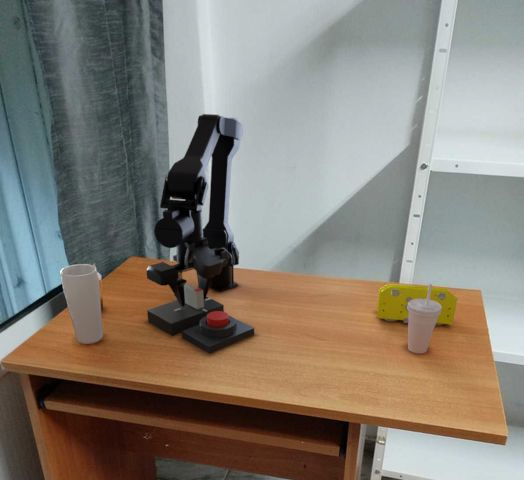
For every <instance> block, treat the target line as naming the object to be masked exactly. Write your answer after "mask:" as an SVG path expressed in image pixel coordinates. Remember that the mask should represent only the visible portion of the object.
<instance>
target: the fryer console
mask: <svg viewBox="0 0 524 480" xmlns="http://www.w3.org/2000/svg"><path fill="white" fill-rule="evenodd" d="M224 310H225V309H224V304H223V303H221V302H218V301H216V300H215V299H213V298H211V297H208V296H206V299H204V307H203V308H200V309H196V308H194V307H192V306H190V305H188V304H186V303H185V306H184V307H182V306H181V305H180V304H179V302H178V300H177V299H176V300H173V301H170V302H167V303H164V304H162V305H158V306H155V307H153V308H152V307H151V308H149V309H147V310H146V312H147V323H148V324H150V325H151V326H153V327H155V328H157V329H159V330H161V331H162V332H164V333H166V334H167V335H169V336H171V337H175V336H177V335H180V334H182V331H183V330H186V329H189V328H191V327H194V326H197V325H199V324H200V320H201V319H202V318H203V317H206V316H207V315H208V314H209V313H210V312H214V311H223V312H225V311H224Z"/></svg>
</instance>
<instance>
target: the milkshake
mask: <svg viewBox="0 0 524 480" xmlns="http://www.w3.org/2000/svg"><path fill="white" fill-rule="evenodd" d="M93 266H95V267H96V263H93ZM97 274H98V279H99V286H100V301H101V313H102V312H103V311H104V299H103V287H102V286H103V282H102V281H103V280H102V274H101V273H99V272H98V271H97Z"/></svg>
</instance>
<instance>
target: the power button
mask: <svg viewBox="0 0 524 480" xmlns="http://www.w3.org/2000/svg"><path fill="white" fill-rule="evenodd" d="M229 316H230V315H229V313H228V312H225V311H224V312H223V311H214V312H210V313H209V314H208V315H207V324H208V325H209V326H211V327H224V326H226V325H228V324H229Z"/></svg>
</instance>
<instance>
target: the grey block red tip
mask: <svg viewBox="0 0 524 480" xmlns="http://www.w3.org/2000/svg"><path fill="white" fill-rule="evenodd" d="M184 295H185V303H186V304H188V305H190V306H192V307H194V308H196V309H200V308H203V307H204V297H203V290H202V289H201V288H199V287H197V286H195V285H193V284H190V283H189V282H186V283H185V285H184Z"/></svg>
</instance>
